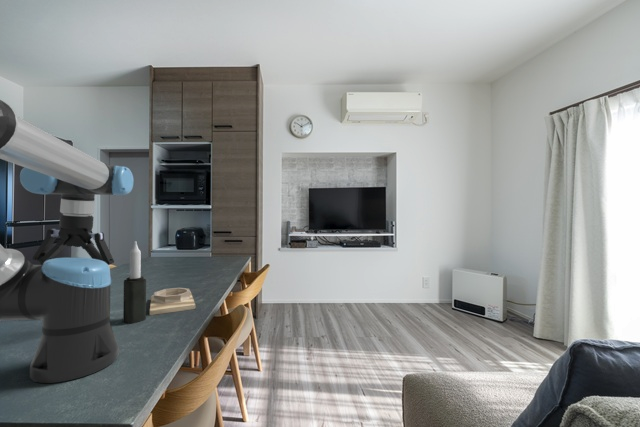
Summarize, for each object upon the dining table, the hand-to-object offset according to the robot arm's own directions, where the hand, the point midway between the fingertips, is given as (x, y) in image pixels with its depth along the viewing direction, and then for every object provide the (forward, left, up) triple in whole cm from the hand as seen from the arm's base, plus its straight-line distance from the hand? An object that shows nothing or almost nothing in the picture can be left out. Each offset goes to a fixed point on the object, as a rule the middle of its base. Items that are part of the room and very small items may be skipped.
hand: (72, 286), depth 86 cm
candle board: (+12, -27, -12) cm, 32 cm away
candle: (-1, -16, -12) cm, 20 cm away
